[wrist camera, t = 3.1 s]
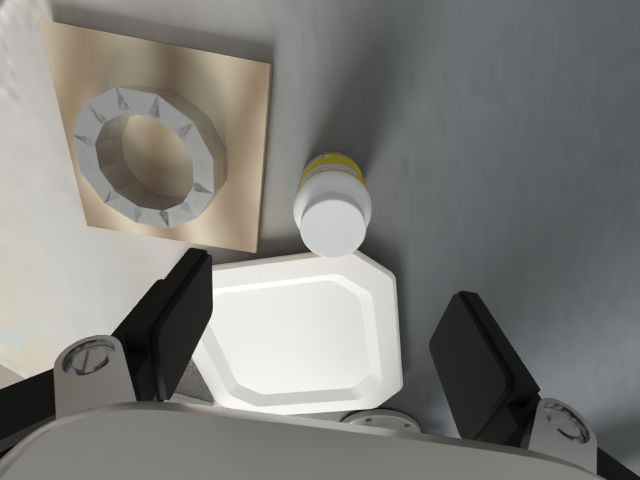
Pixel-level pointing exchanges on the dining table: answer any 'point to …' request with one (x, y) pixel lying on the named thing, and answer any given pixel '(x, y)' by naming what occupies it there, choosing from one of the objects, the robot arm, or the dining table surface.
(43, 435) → the robot arm
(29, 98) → the dining table surface
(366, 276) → the plate
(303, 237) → the supplement bottle
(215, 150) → the steel ring collar
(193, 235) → the fitting board
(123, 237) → the dining table surface
